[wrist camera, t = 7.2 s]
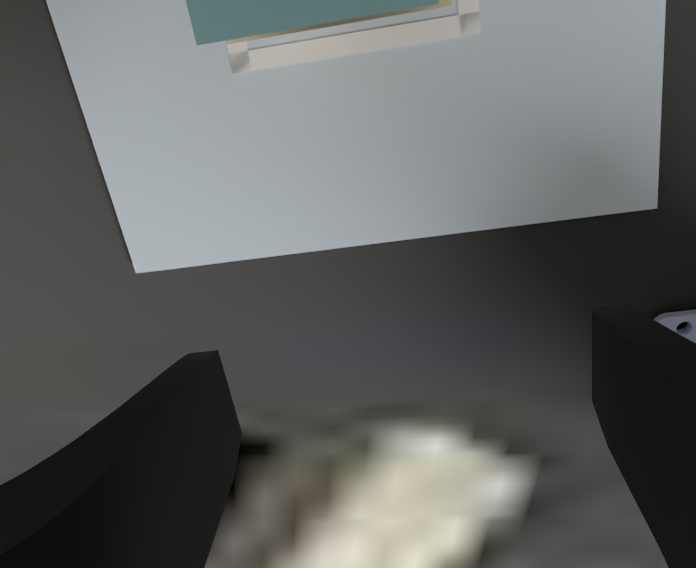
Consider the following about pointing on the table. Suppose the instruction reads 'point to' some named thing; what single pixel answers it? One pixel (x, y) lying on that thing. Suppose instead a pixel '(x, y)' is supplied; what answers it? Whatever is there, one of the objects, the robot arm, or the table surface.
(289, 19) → the teal block
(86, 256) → the table surface
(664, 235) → the table surface
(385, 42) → the board
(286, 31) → the base block
